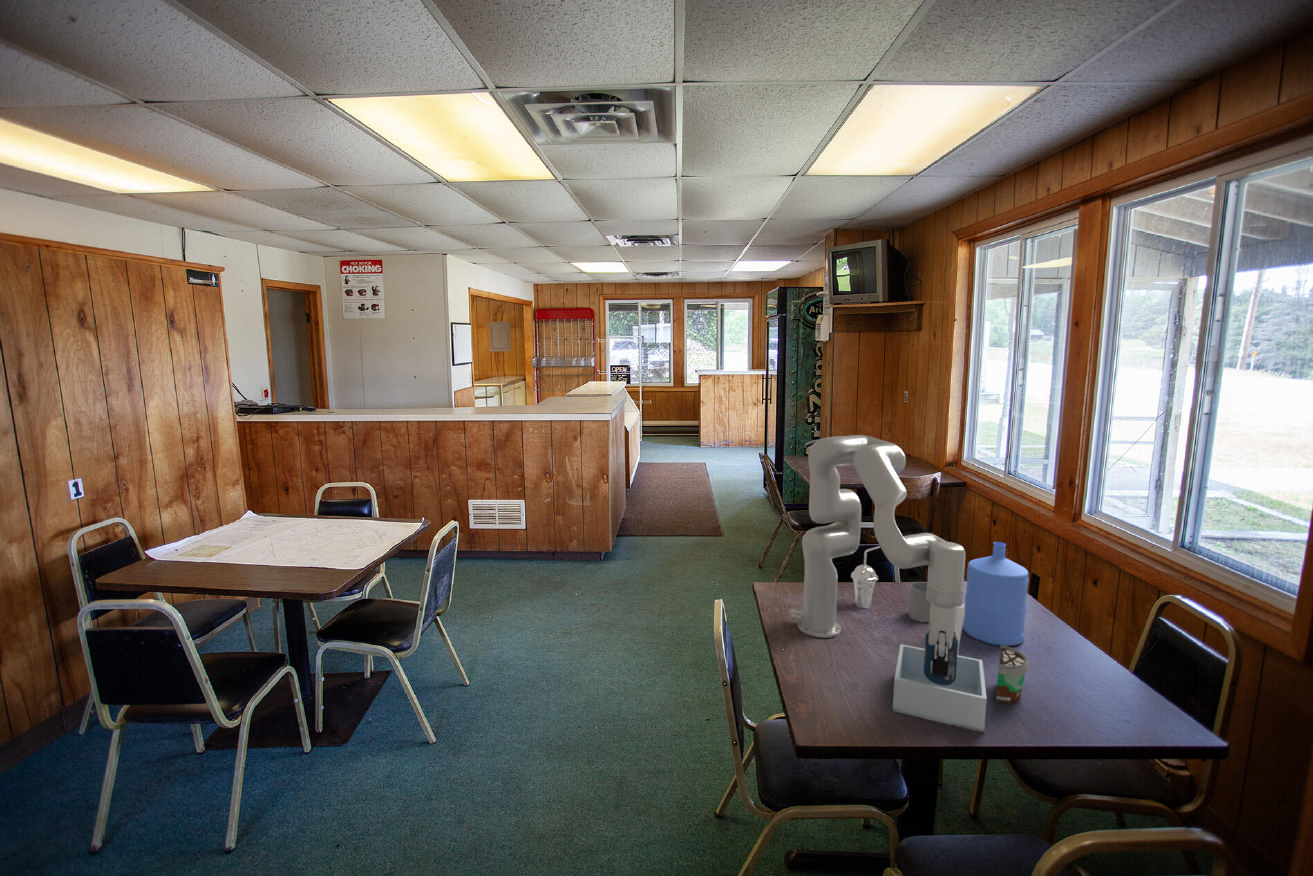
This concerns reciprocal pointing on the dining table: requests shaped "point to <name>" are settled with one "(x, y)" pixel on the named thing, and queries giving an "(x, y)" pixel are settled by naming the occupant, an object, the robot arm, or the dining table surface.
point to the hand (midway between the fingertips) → (940, 666)
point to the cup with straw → (864, 582)
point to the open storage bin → (940, 691)
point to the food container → (1010, 675)
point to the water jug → (996, 599)
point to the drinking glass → (959, 622)
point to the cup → (919, 602)
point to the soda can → (951, 663)
